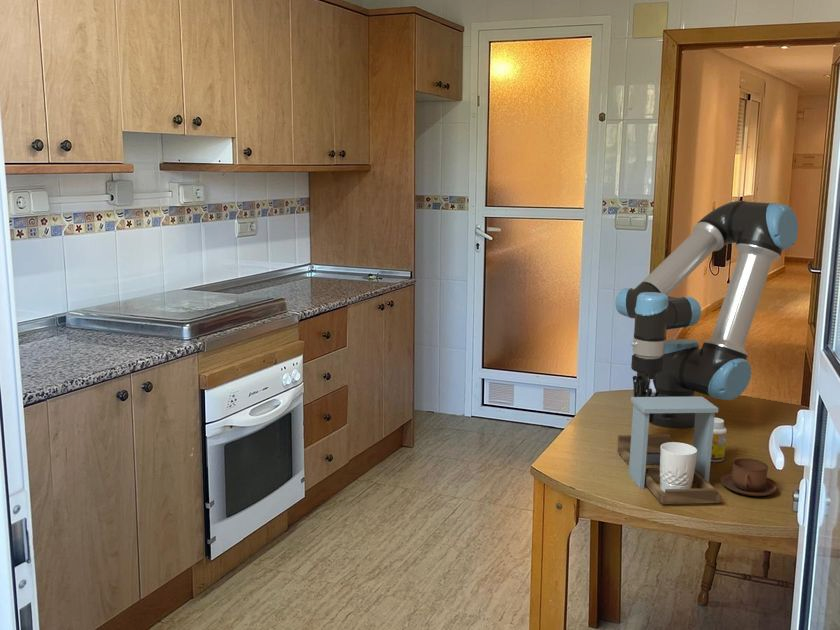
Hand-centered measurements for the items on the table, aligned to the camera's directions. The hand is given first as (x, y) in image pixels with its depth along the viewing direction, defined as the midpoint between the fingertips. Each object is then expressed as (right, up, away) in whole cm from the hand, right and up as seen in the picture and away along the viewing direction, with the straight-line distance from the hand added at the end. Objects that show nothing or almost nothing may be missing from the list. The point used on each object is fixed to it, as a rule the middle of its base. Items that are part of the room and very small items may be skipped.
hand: (640, 445), depth 212 cm
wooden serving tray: (+2, -4, -16) cm, 16 cm away
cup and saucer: (+19, -7, -21) cm, 29 cm away
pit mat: (+1, -3, -3) cm, 4 cm away
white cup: (+2, -7, -22) cm, 23 cm away
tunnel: (+2, -6, -17) cm, 18 cm away
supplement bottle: (+17, -3, -3) cm, 18 cm away
